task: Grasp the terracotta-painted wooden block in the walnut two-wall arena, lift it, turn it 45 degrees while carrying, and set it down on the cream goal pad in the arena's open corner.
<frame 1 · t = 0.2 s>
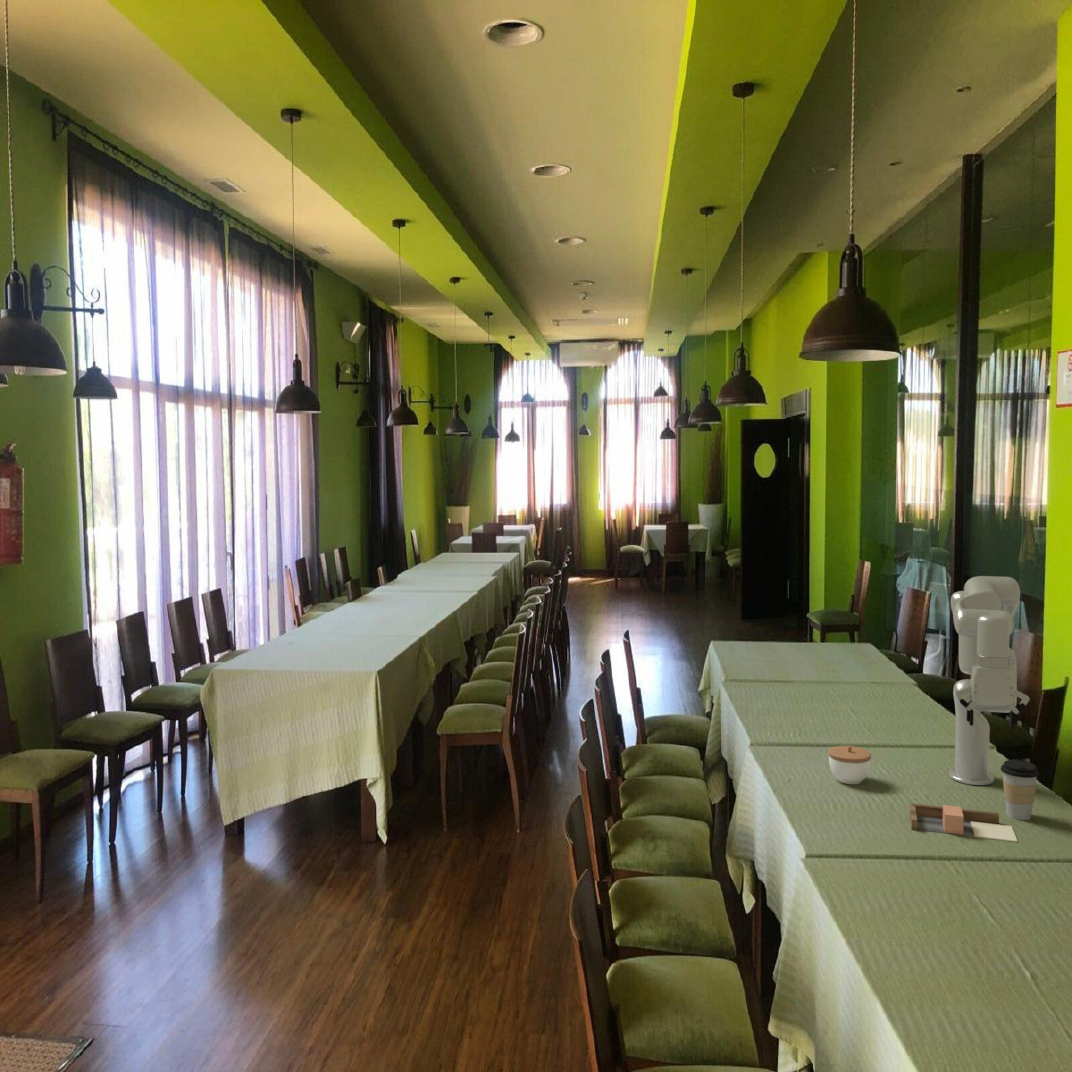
hand: (991, 725, 227), 30 cm above the table, fingers open, 9 cm apart
arena: (964, 828, 236), on the table
lidded bowl: (849, 780, 273), on the table
goal pad: (993, 831, 232), resting on arena
coffee cup: (1018, 817, 242), on the table
block: (952, 828, 235), resting on arena
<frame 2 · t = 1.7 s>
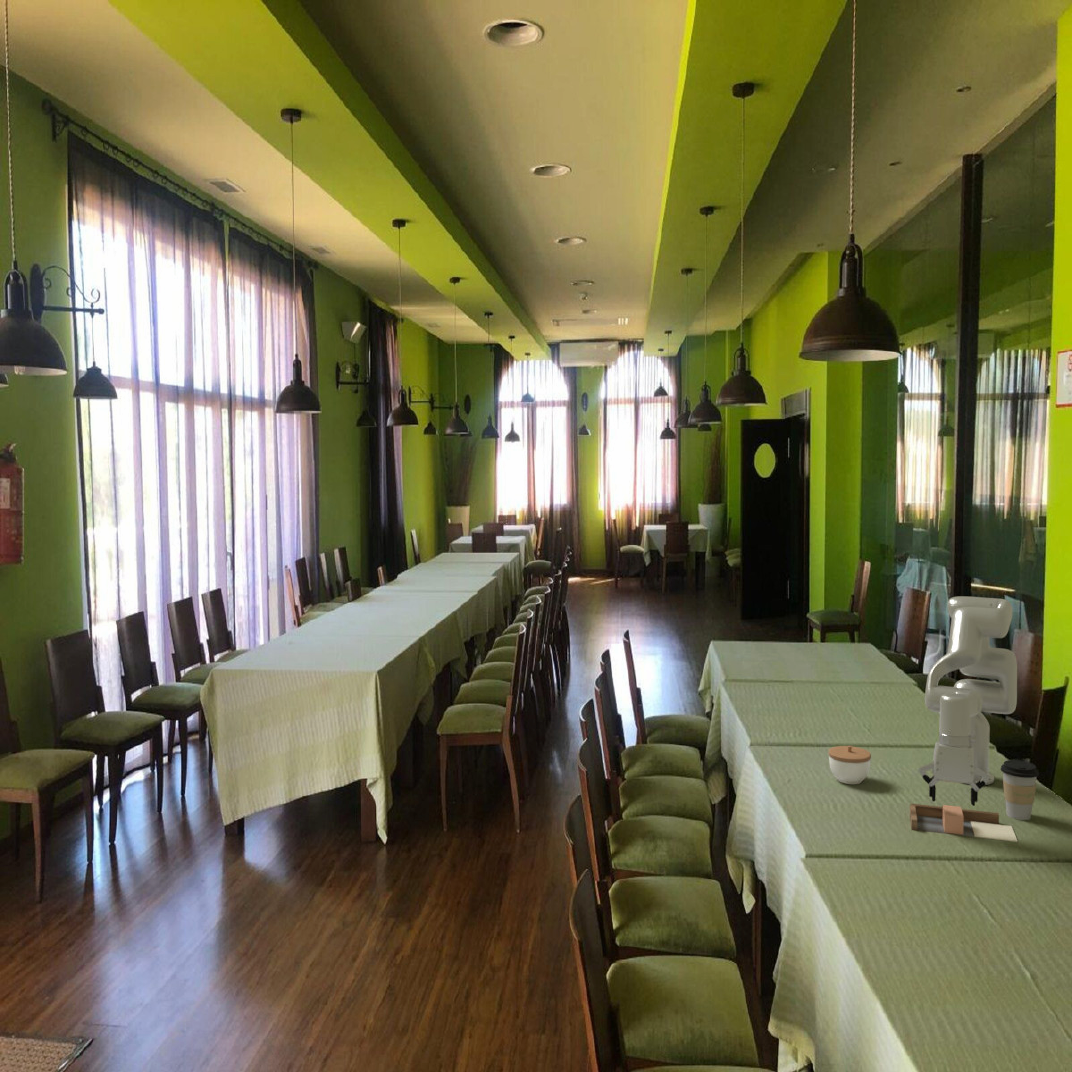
hand: (952, 801, 234), 8 cm above the table, fingers open, 9 cm apart
nothing on the table moved.
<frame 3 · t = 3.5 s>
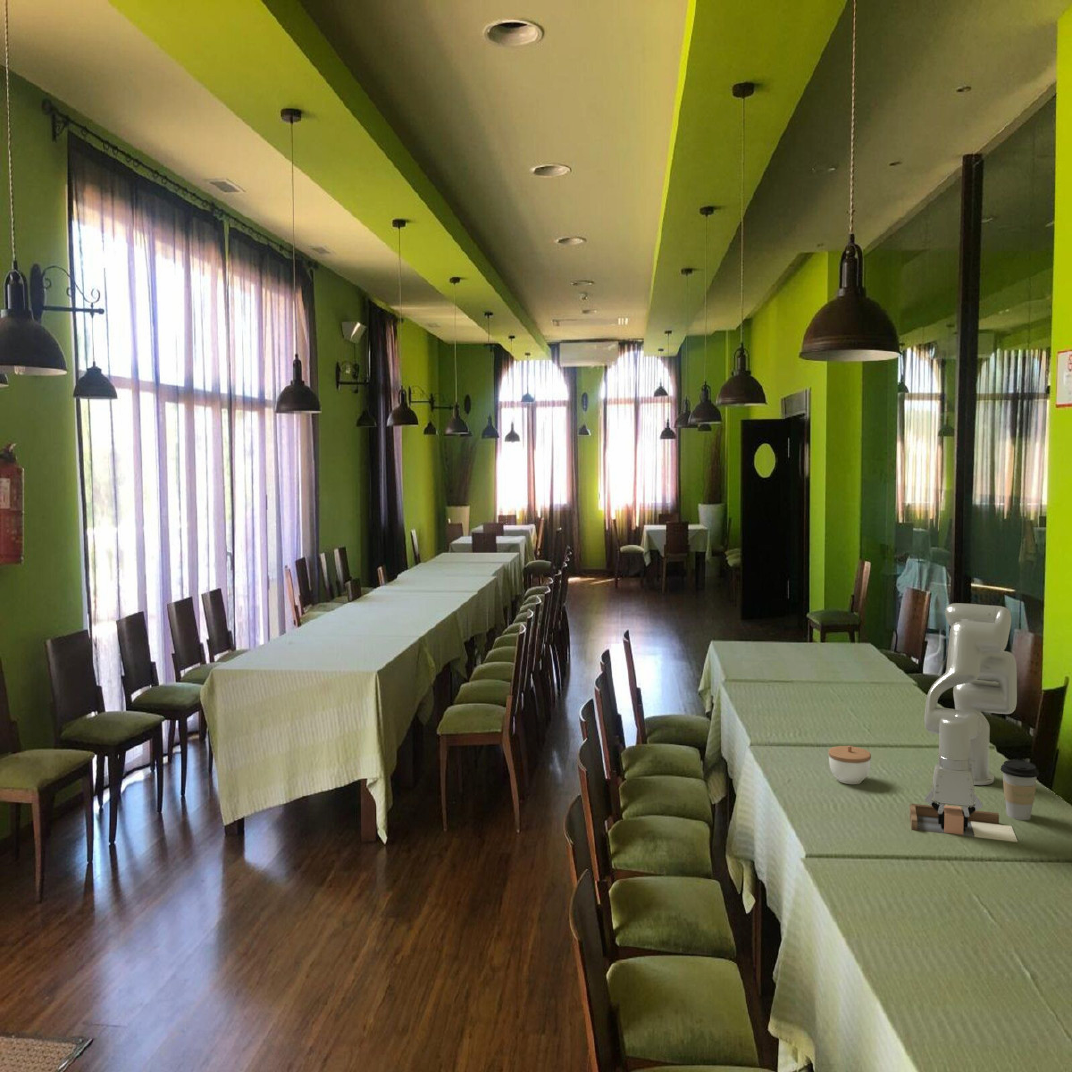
hand: (952, 827, 235), 1 cm above the table, fingers closed on block, 4 cm apart
block: (952, 828, 235), resting on arena, touching gripper
everything else where it was.
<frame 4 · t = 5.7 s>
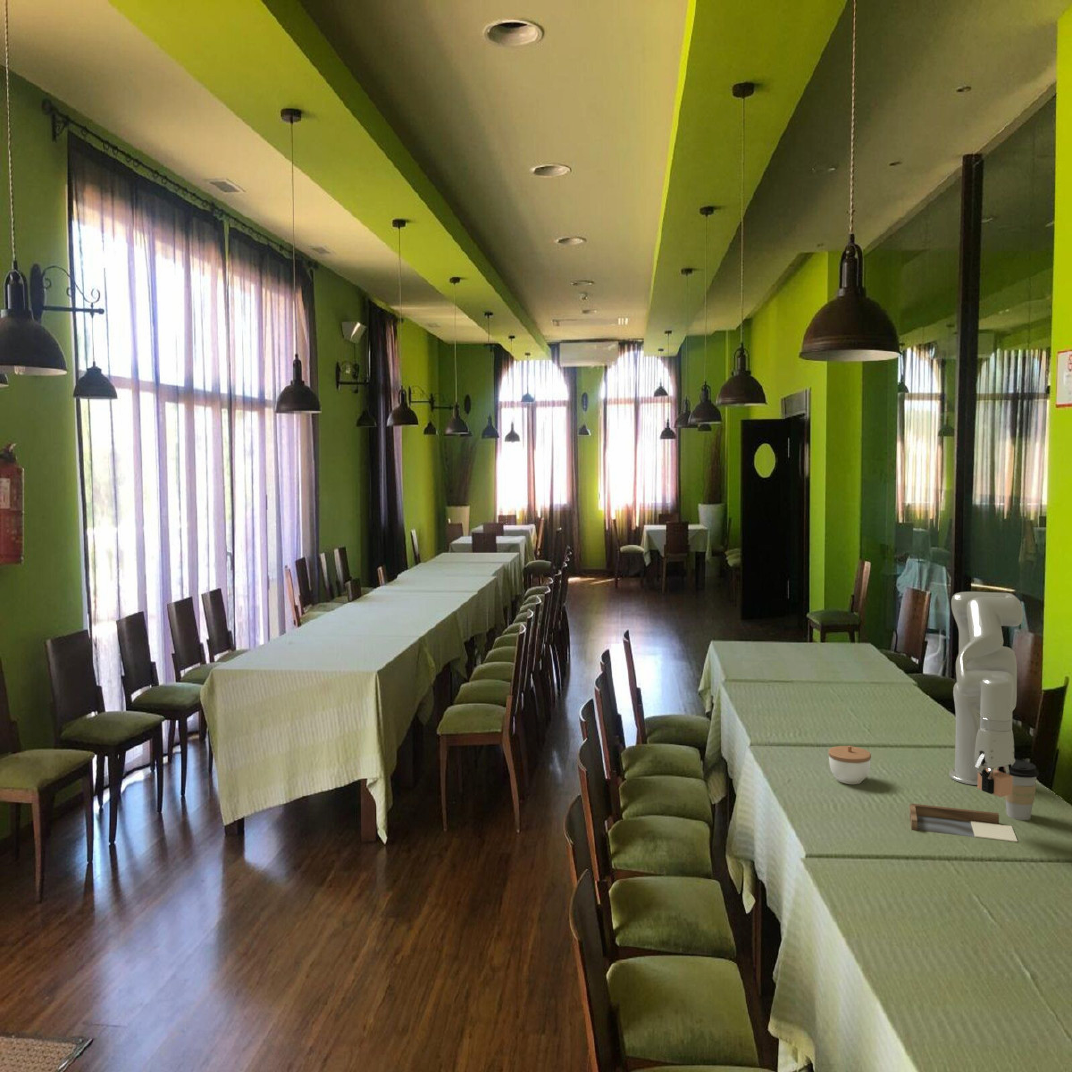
hand: (994, 789, 231), 12 cm above the table, fingers closed on block, 4 cm apart
block: (994, 791, 231), point 12 cm above the table, touching gripper
everything else where it was.
when the fingers open (2 cm above the table, at t = 8.0 s): block drops 2 cm, resting on goal pad.
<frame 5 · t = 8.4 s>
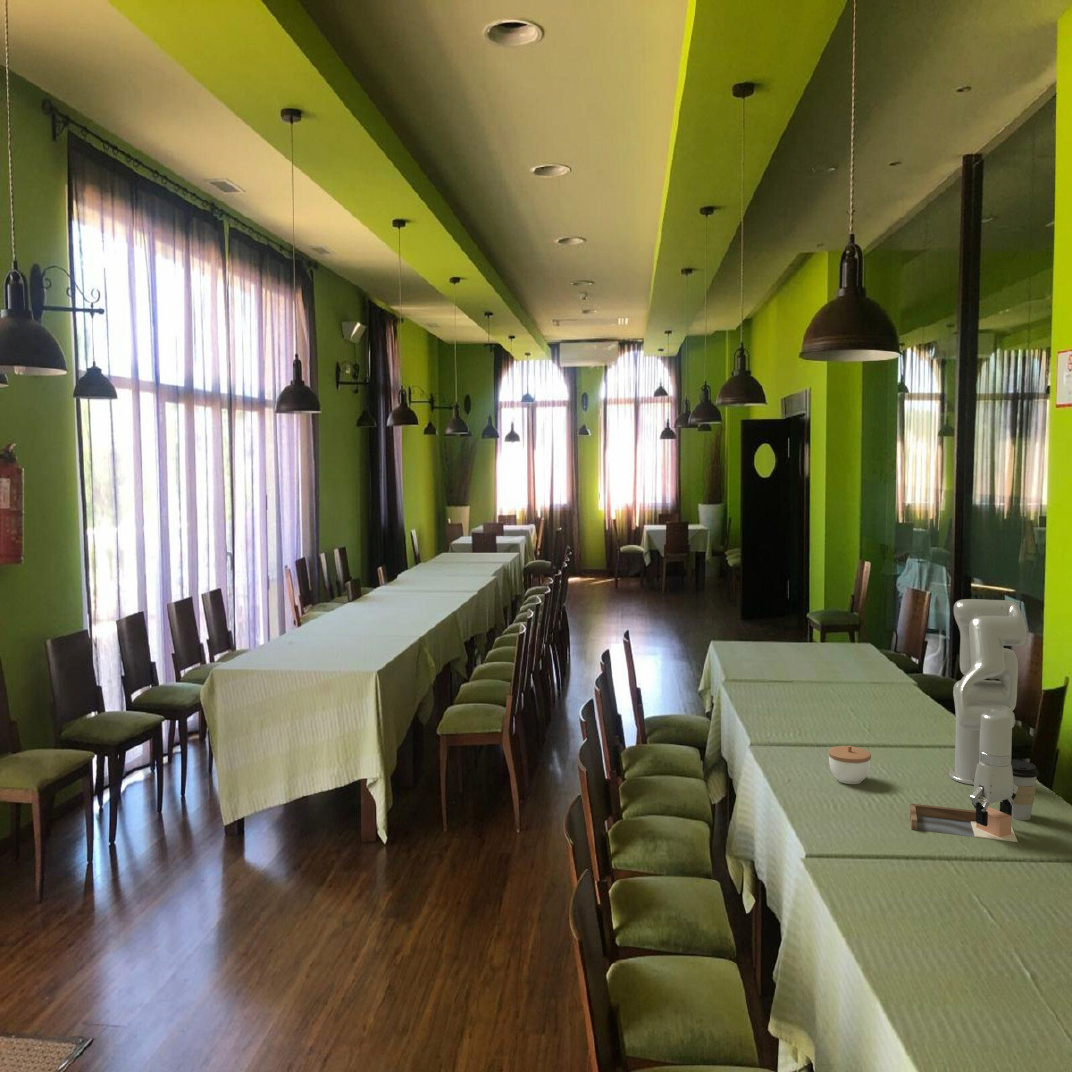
hand: (993, 820, 232), 3 cm above the table, fingers open, 8 cm apart
block: (993, 830, 232), point 1 cm above the table, touching goal pad
everything else where it was.
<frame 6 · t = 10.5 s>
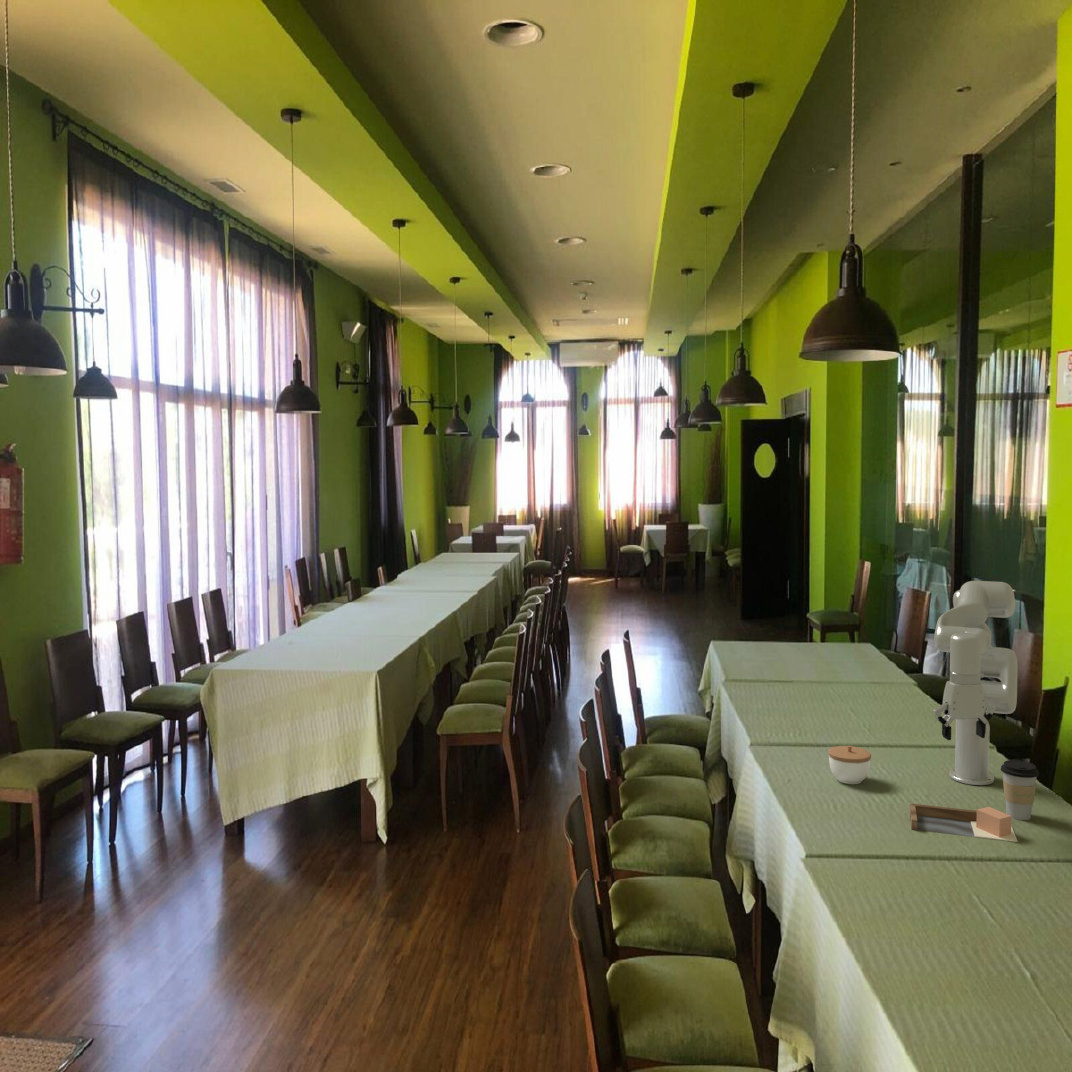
hand: (963, 737, 240), 23 cm above the table, fingers open, 9 cm apart
nothing on the table moved.
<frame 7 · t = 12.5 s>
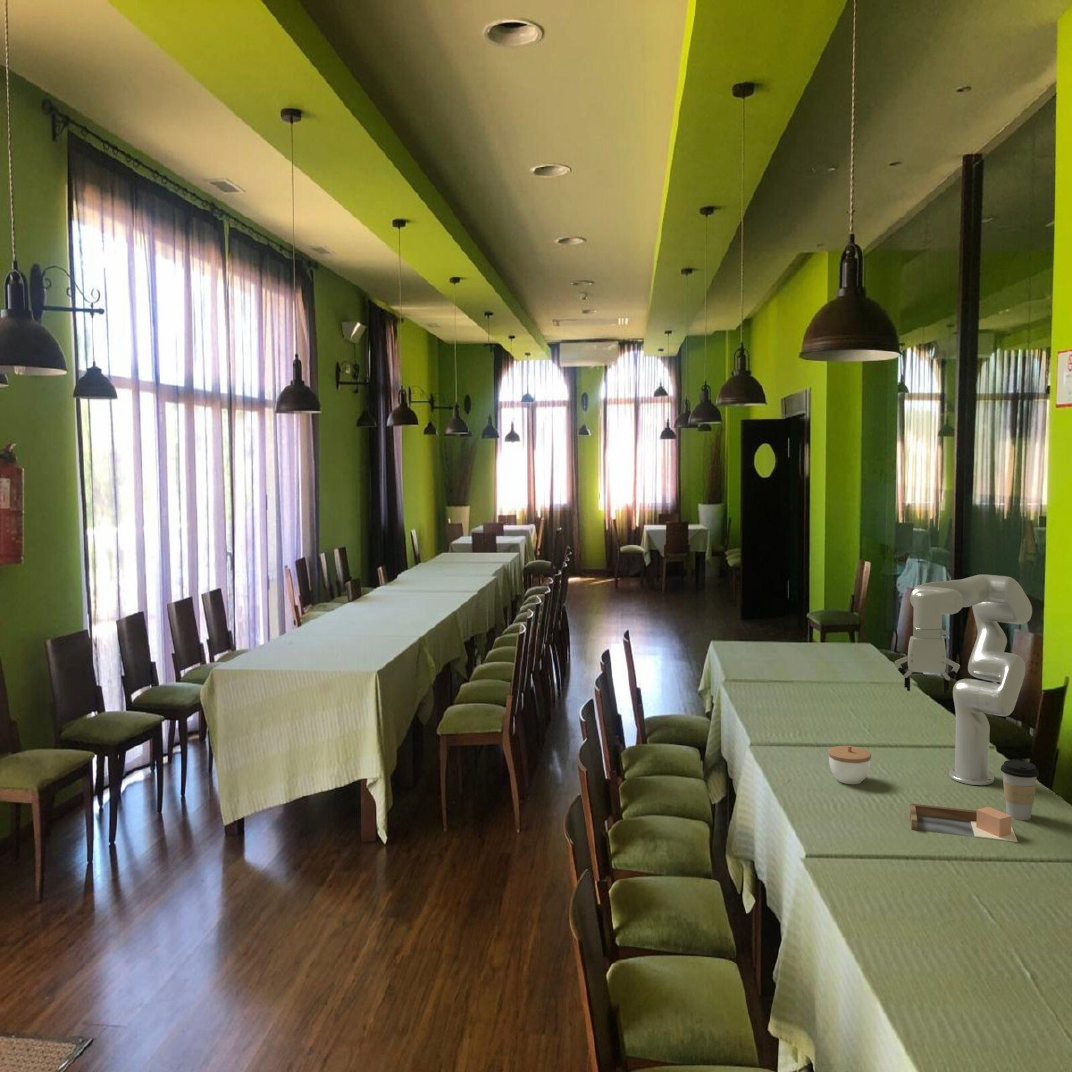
hand: (926, 691, 251), 33 cm above the table, fingers open, 9 cm apart
nothing on the table moved.
at the end: block 0.1 cm from the goal pad (horizontally); block point 0.6 cm above the table; block tilted 0° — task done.
